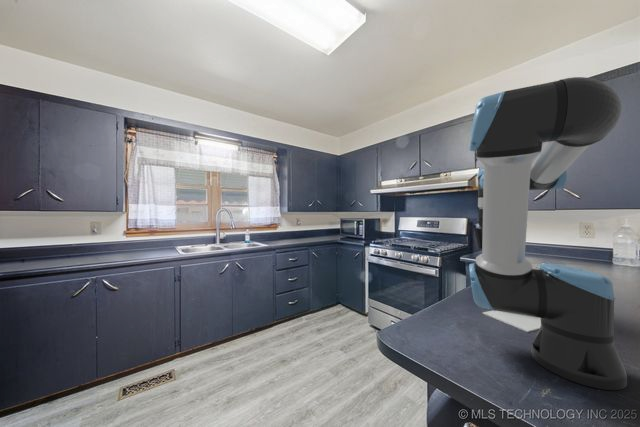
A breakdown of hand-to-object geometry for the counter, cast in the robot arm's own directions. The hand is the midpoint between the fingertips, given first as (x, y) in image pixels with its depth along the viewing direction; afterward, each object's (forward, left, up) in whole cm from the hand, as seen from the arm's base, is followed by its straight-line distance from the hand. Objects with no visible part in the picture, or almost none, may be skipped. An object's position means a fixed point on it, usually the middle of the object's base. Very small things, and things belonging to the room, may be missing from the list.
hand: (489, 267), depth 94 cm
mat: (-1, -12, -14) cm, 19 cm away
